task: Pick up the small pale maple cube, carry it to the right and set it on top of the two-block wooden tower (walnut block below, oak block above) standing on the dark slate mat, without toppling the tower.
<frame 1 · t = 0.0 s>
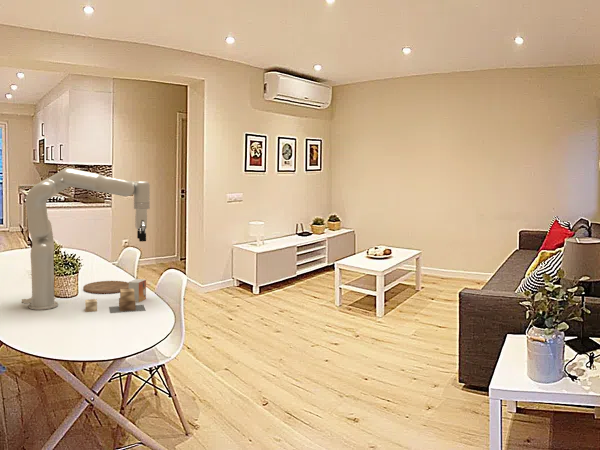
hand: (141, 239, 265), 31 cm above the table, fingers open, 9 cm apart
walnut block: (127, 308, 252), resting on slate mat, touching oak block
trivet: (107, 289, 291), on the table
maple cube: (91, 311, 248), on the table
small box: (137, 301, 268), on the table
oak block: (127, 299, 251), point 5 cm above the table, touching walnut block
slate mat: (127, 309, 252), on the table
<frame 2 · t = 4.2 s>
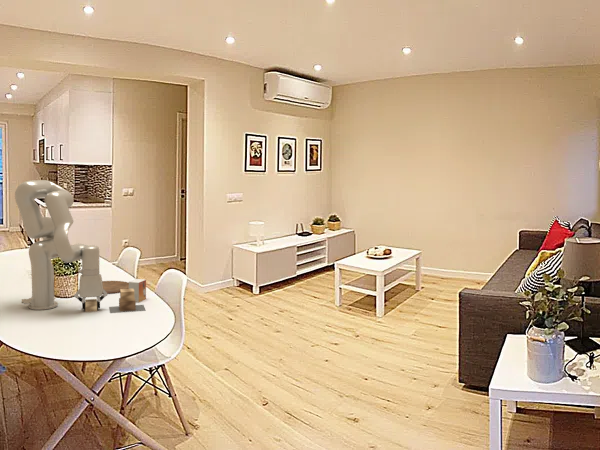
hand: (91, 309, 248), 0 cm above the table, fingers closed on maple cube, 5 cm apart
maple cube: (91, 310, 248), on the table, touching gripper
everything else where it was.
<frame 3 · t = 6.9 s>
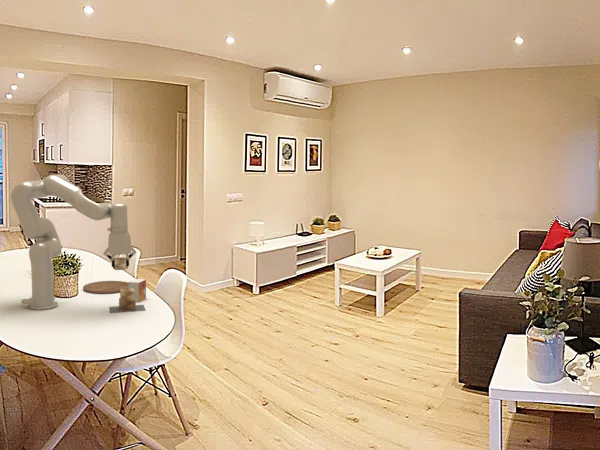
hand: (120, 267, 249), 20 cm above the table, fingers closed on maple cube, 5 cm apart
maple cube: (120, 268, 249), point 20 cm above the table, touching gripper
everything else where it was.
when the fingers open (11 cm above the table, at t = 9.8 s): maple cube stays where it is, resting on oak block.
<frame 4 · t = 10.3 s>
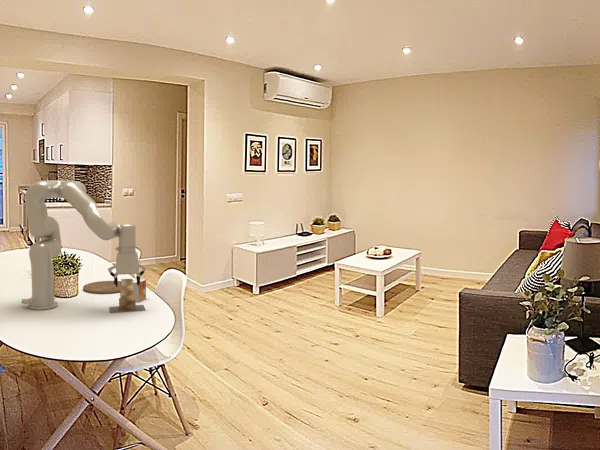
hand: (127, 285, 251), 12 cm above the table, fingers open, 9 cm apart
maple cube: (127, 290, 251), point 9 cm above the table, touching oak block
oak block: (127, 299, 251), point 5 cm above the table, touching maple cube, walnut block
everything else where it was.
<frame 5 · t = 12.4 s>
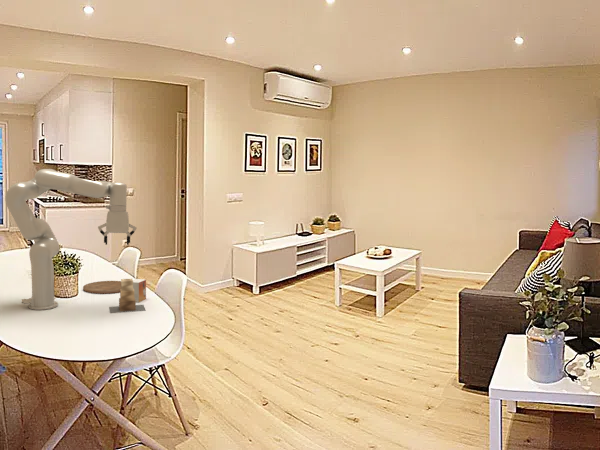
hand: (117, 244, 252), 31 cm above the table, fingers open, 9 cm apart
nothing on the table moved.
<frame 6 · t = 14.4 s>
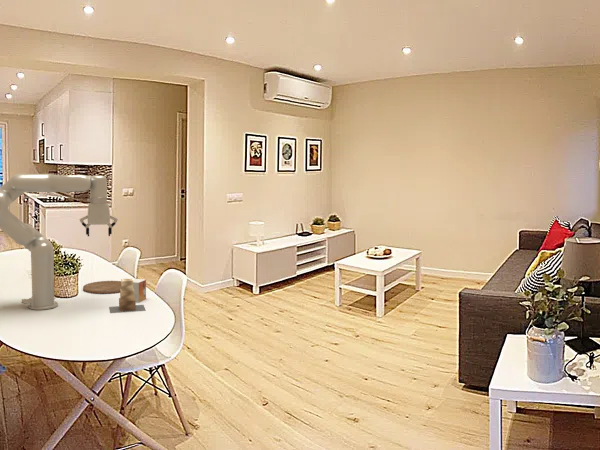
hand: (98, 235, 259), 33 cm above the table, fingers open, 9 cm apart
nothing on the table moved.
at the end: maple cube 0.1 cm off-centre on the oak block, point 4.5 cm above the oak block's base; oak block tilted 0°; maple cube tilted 0° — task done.
